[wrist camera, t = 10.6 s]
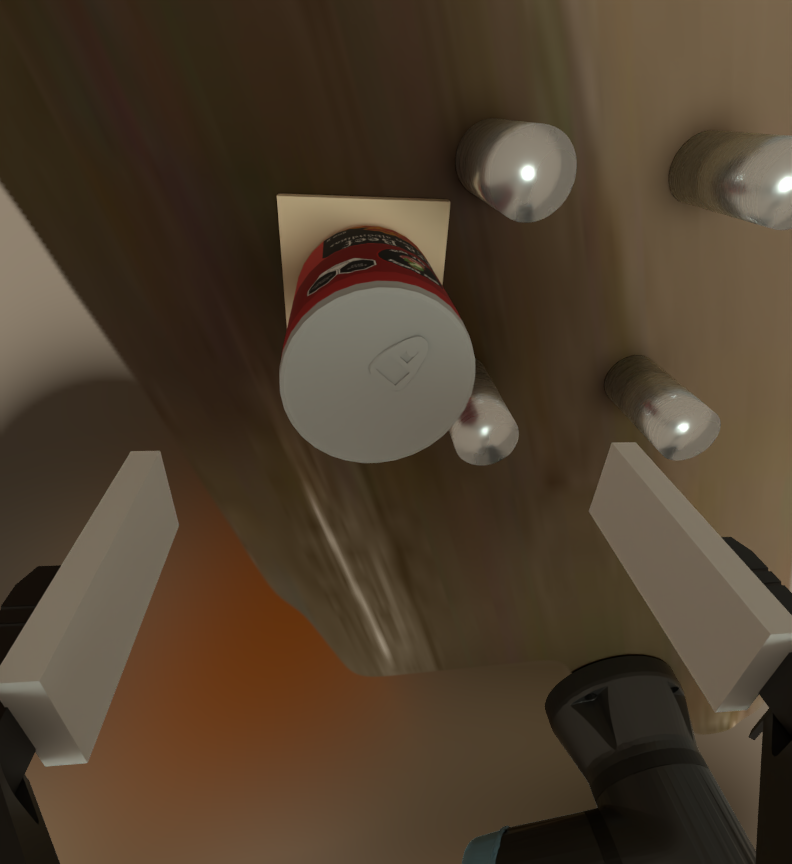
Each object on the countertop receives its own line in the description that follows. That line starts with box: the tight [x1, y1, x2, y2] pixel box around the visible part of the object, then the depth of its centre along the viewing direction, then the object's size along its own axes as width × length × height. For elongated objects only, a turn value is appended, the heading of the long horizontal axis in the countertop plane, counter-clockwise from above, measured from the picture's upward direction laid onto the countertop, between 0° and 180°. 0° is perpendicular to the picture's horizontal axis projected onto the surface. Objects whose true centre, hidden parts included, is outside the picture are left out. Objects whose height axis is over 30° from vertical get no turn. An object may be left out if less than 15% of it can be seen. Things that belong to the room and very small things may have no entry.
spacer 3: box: [604, 355, 721, 460], centre depth 32 cm, size 4×4×7 cm
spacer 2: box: [449, 358, 519, 465], centre depth 30 cm, size 4×4×7 cm
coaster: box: [277, 194, 450, 327], centre depth 29 cm, size 10×9×1 cm
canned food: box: [279, 226, 475, 463], centre depth 24 cm, size 8×8×11 cm
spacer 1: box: [455, 119, 577, 223], centre depth 23 cm, size 4×4×7 cm
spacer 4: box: [669, 130, 792, 230], centre depth 25 cm, size 4×4×7 cm
